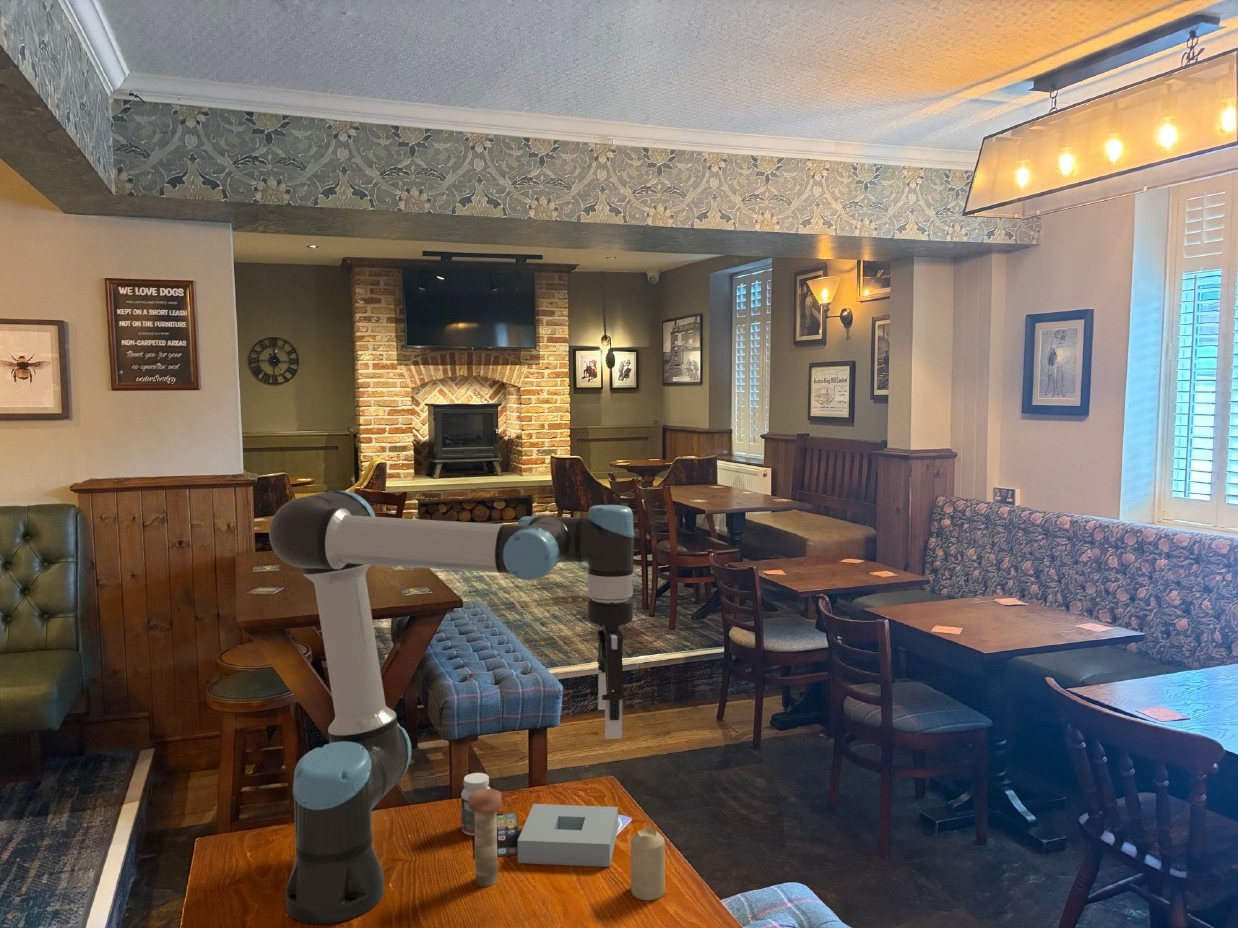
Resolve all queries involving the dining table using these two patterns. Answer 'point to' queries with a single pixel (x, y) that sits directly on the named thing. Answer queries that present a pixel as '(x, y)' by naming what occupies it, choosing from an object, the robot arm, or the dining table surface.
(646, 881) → the candle
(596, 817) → the block
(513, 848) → the smartphone
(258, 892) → the dining table surface
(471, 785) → the pill bottle
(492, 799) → the peg
